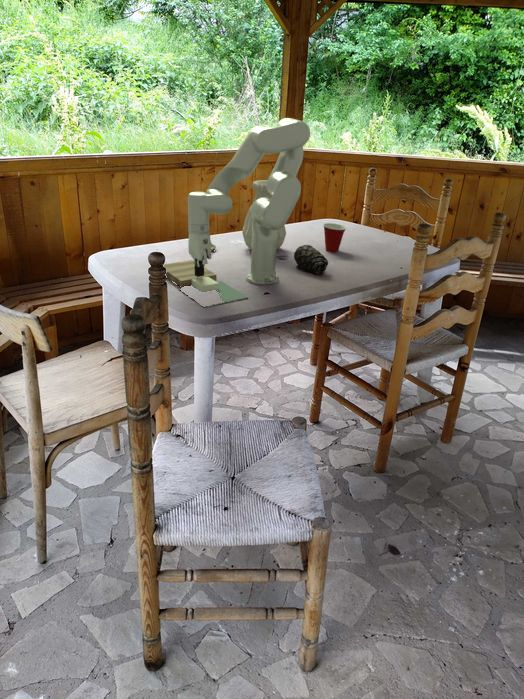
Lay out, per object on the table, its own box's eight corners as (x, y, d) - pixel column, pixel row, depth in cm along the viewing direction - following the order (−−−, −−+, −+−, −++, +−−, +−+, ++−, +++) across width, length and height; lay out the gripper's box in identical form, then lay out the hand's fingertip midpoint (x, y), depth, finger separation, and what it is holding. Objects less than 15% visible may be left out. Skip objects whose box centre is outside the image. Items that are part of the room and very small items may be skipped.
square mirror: (247, 298, 199) (247, 297, 199) (204, 307, 190) (204, 306, 190) (221, 282, 213) (221, 281, 213) (179, 290, 204) (179, 288, 204)
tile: (218, 289, 205) (218, 283, 204) (202, 292, 201) (202, 286, 200) (207, 282, 211) (207, 276, 209) (191, 285, 207) (191, 279, 206)
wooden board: (216, 282, 213) (216, 274, 212) (181, 288, 205) (181, 281, 204) (192, 267, 228) (191, 260, 226) (158, 272, 220) (158, 265, 219)
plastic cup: (348, 253, 254) (351, 227, 248) (327, 255, 250) (330, 229, 245) (337, 246, 263) (339, 221, 257) (316, 248, 259) (319, 222, 254)
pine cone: (318, 279, 222) (321, 254, 217) (288, 267, 233) (289, 243, 229) (336, 274, 228) (338, 250, 223) (305, 262, 239) (307, 240, 235)
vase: (232, 247, 254) (233, 180, 240) (265, 241, 266) (268, 176, 253) (261, 259, 241) (264, 188, 227) (294, 251, 253) (298, 184, 239)
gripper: (218, 231, 196) (218, 280, 204) (198, 221, 206) (198, 268, 215) (199, 233, 192) (199, 283, 200) (180, 223, 203) (181, 271, 211)
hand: (199, 275), depth 207 cm, fingers closed
